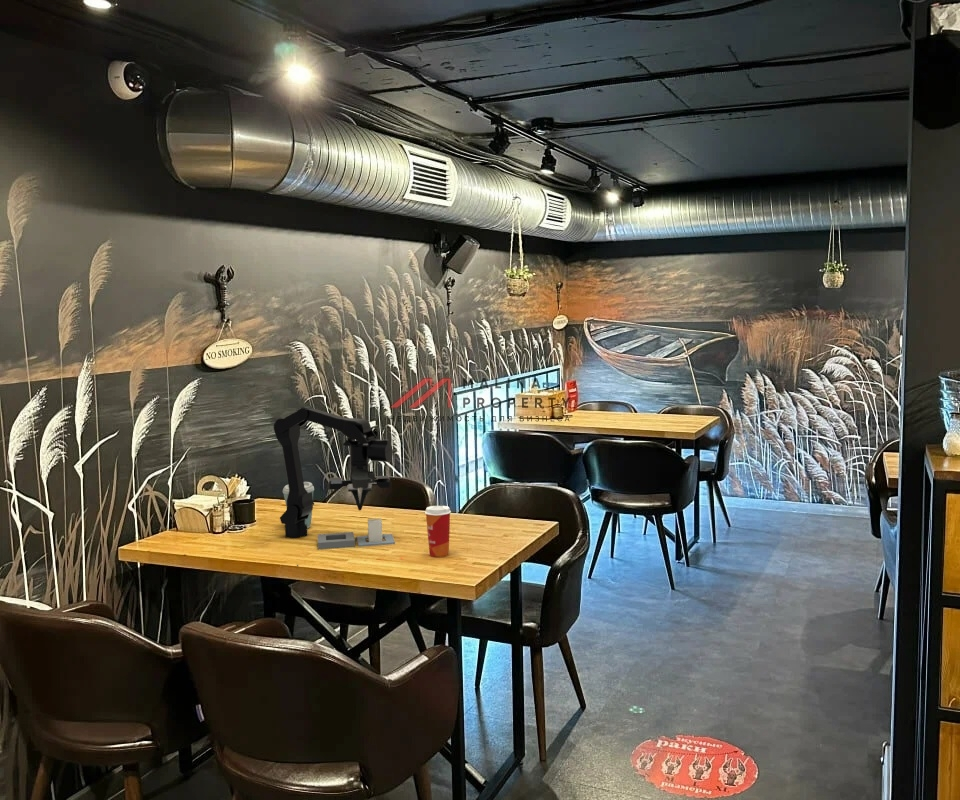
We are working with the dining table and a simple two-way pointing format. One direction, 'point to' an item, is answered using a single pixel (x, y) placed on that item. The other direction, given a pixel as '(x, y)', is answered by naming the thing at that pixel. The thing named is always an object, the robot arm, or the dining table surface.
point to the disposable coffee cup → (309, 489)
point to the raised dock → (336, 540)
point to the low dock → (362, 542)
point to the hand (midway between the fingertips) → (359, 510)
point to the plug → (374, 530)
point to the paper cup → (438, 530)
